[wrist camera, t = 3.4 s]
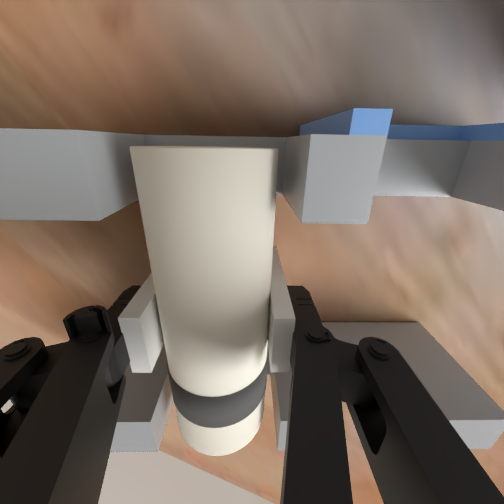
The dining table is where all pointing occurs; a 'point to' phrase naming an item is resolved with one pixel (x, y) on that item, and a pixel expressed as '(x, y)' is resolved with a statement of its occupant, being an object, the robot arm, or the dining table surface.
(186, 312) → the banded white cylinder
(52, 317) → the dining table surface
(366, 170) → the bracket
